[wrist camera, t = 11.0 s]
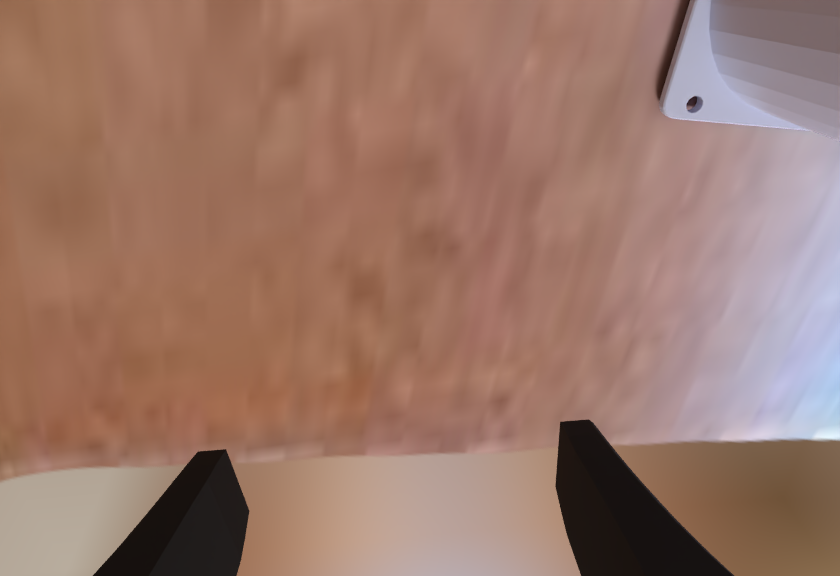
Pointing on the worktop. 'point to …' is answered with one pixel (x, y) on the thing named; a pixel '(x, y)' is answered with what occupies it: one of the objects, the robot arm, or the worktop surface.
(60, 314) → the worktop surface
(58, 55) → the worktop surface
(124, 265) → the worktop surface
